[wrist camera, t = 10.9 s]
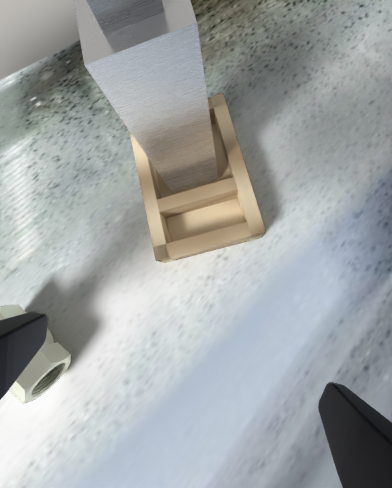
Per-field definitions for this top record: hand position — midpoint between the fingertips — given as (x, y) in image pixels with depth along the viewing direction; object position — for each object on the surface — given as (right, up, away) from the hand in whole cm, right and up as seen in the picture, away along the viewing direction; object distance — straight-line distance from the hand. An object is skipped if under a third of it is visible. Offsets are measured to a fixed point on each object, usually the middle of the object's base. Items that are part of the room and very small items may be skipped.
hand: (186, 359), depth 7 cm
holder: (0, +9, +12) cm, 15 cm away
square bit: (0, +10, +12) cm, 16 cm away
